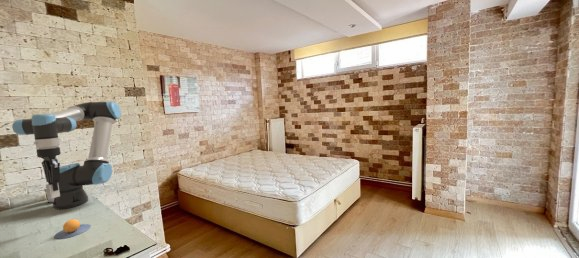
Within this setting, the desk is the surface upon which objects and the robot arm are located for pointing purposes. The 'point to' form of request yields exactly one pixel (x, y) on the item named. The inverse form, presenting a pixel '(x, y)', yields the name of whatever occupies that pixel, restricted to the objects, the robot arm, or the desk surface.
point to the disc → (80, 230)
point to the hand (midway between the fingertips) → (55, 197)
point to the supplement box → (49, 194)
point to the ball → (71, 226)
